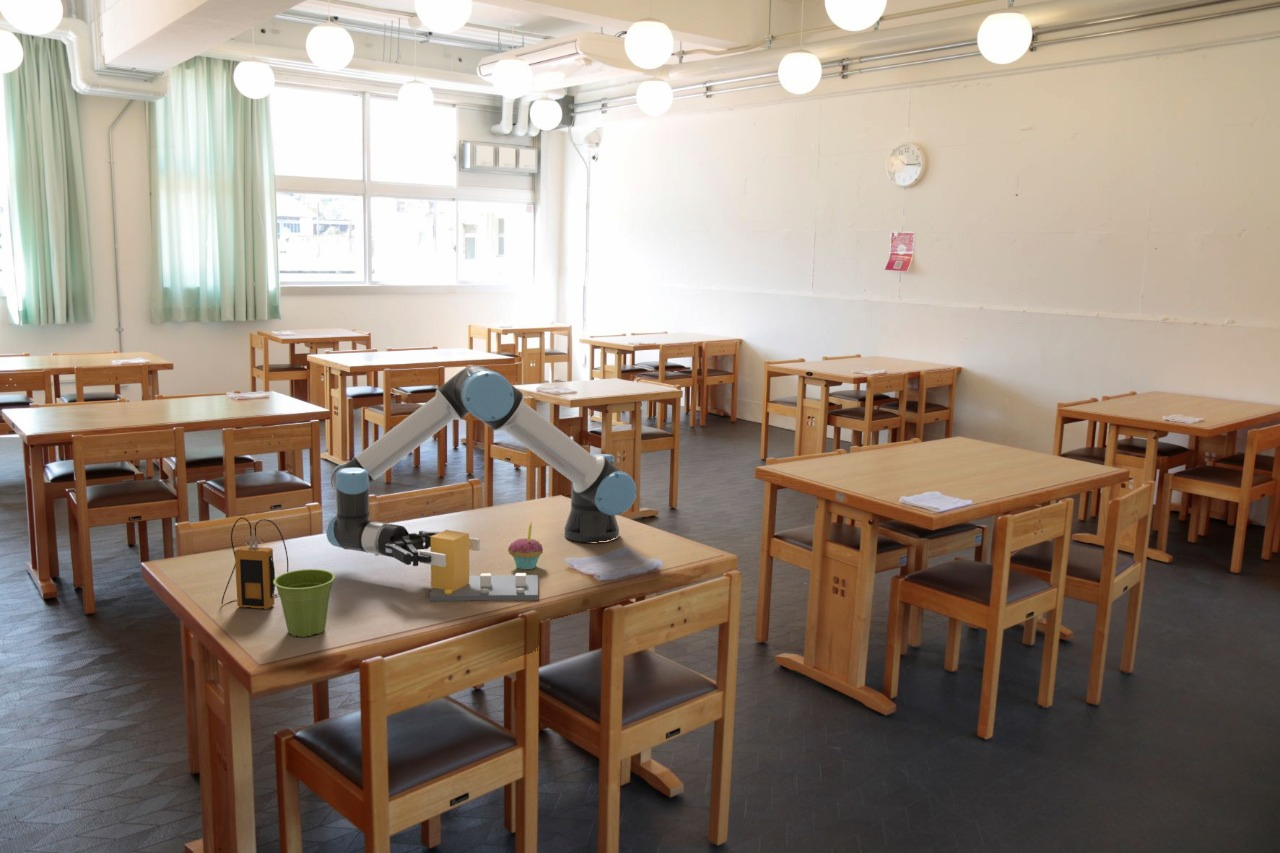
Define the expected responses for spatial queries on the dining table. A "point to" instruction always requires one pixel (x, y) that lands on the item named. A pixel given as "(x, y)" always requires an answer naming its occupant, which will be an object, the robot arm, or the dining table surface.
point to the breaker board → (492, 588)
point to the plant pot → (305, 600)
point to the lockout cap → (451, 560)
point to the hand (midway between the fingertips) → (462, 552)
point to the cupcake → (526, 551)
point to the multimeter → (254, 573)
